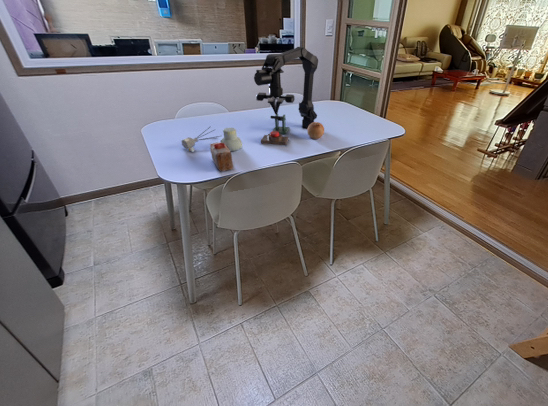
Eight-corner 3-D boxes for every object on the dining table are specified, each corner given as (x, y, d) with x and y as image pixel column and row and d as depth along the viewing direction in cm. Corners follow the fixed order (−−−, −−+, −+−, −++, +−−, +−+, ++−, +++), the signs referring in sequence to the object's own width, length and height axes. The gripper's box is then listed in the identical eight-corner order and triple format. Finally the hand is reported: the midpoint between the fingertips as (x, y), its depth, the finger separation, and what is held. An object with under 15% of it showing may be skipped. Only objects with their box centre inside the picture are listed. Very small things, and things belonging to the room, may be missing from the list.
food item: (210, 160, 130) (206, 139, 125) (228, 157, 134) (225, 136, 128) (218, 172, 120) (214, 150, 115) (236, 169, 124) (234, 147, 119)
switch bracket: (285, 135, 162) (285, 118, 156) (271, 133, 162) (271, 117, 157) (289, 129, 170) (288, 113, 165) (275, 128, 170) (275, 112, 165)
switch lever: (281, 120, 152) (281, 115, 151) (270, 119, 152) (270, 114, 151) (285, 121, 163) (286, 116, 163) (275, 120, 163) (275, 116, 163)
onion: (318, 145, 159) (320, 132, 151) (303, 138, 160) (305, 125, 152) (325, 134, 164) (328, 122, 156) (311, 127, 165) (313, 114, 156)
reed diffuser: (176, 135, 135) (211, 121, 148) (177, 146, 140) (211, 132, 153) (191, 148, 133) (225, 133, 146) (191, 159, 138) (224, 143, 152)
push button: (279, 134, 151) (279, 131, 150) (278, 137, 148) (277, 134, 147) (271, 134, 152) (271, 130, 151) (269, 137, 148) (269, 133, 147)
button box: (288, 140, 155) (288, 133, 153) (285, 146, 148) (285, 138, 146) (264, 138, 155) (264, 131, 153) (261, 144, 148) (260, 136, 146)
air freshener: (244, 151, 140) (241, 131, 134) (227, 154, 136) (224, 134, 130) (236, 143, 147) (234, 124, 141) (220, 146, 143) (217, 127, 137)
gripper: (295, 81, 149) (296, 111, 157) (260, 78, 149) (262, 108, 158) (292, 85, 139) (293, 117, 148) (254, 83, 140) (257, 115, 148)
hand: (276, 114), depth 151 cm, fingers closed
